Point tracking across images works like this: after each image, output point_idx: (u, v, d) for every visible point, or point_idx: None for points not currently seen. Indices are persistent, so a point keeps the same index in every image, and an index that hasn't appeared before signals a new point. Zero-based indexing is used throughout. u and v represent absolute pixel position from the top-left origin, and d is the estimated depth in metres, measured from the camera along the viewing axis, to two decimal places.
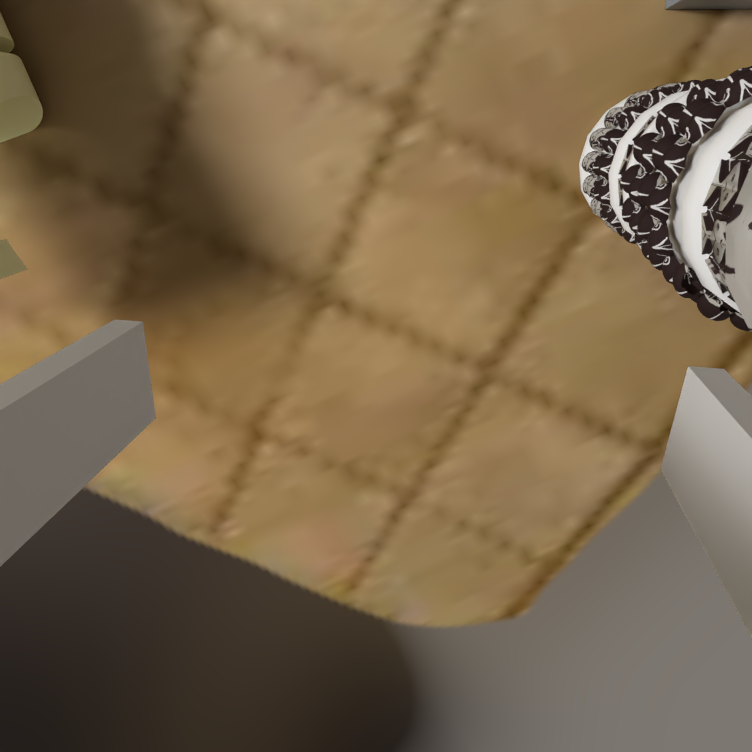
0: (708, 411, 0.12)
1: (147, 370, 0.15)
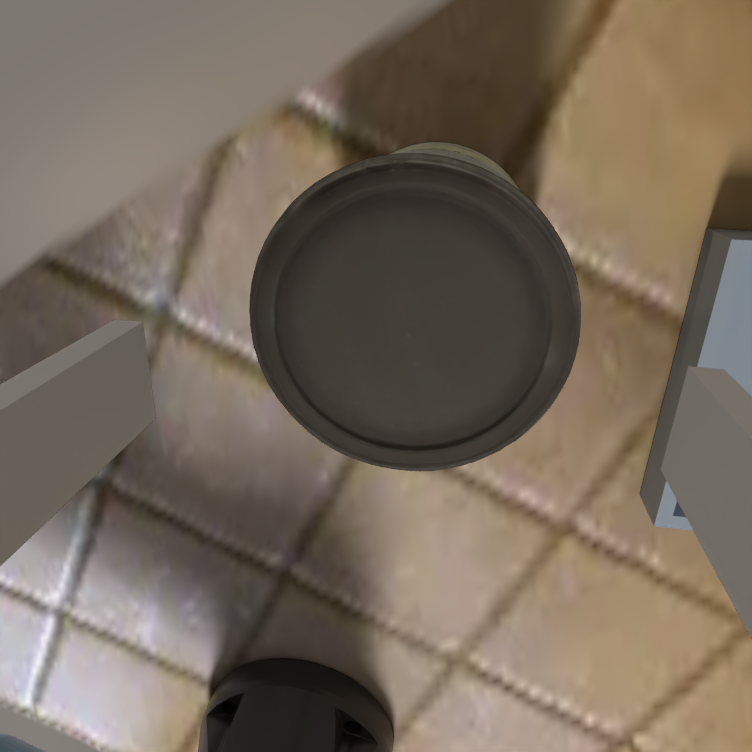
0: (708, 411, 0.12)
1: (147, 370, 0.15)
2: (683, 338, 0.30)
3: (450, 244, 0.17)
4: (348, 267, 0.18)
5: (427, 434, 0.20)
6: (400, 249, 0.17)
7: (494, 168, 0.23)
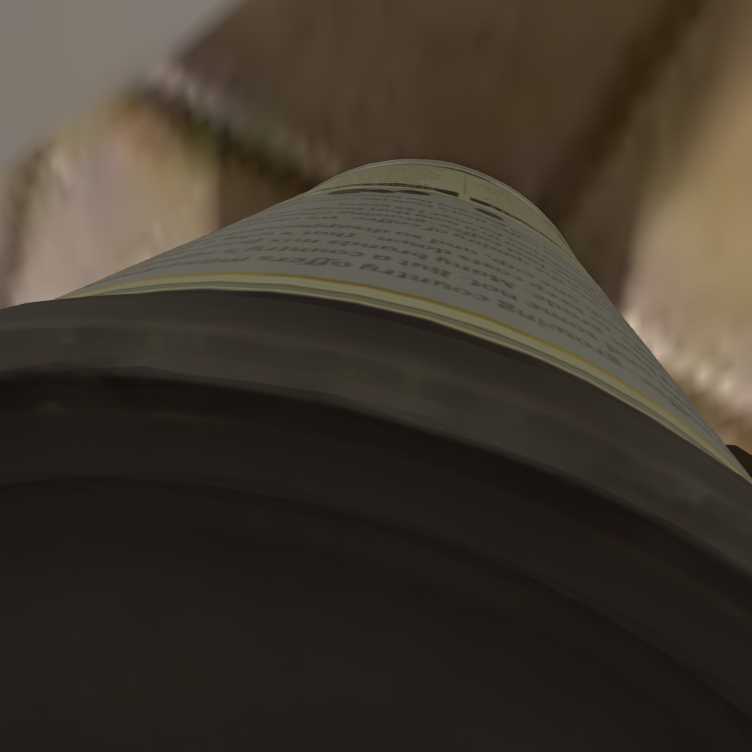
0: None
1: None
2: None
3: (402, 728, 0.04)
4: None
5: None
6: (171, 718, 0.04)
7: (541, 235, 0.09)
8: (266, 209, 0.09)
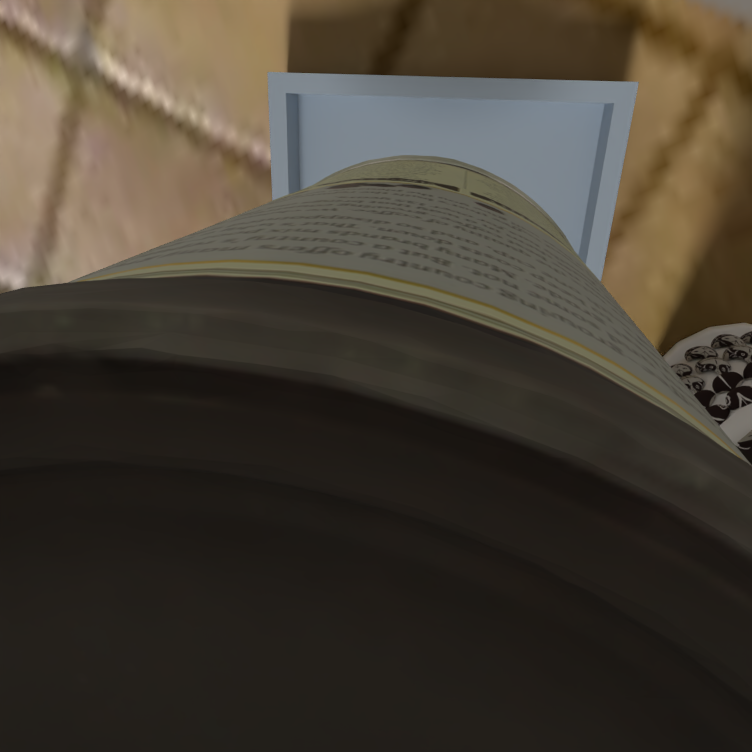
0: None
1: None
2: None
3: (404, 718, 0.03)
4: None
5: None
6: (171, 708, 0.04)
7: (542, 229, 0.09)
8: None
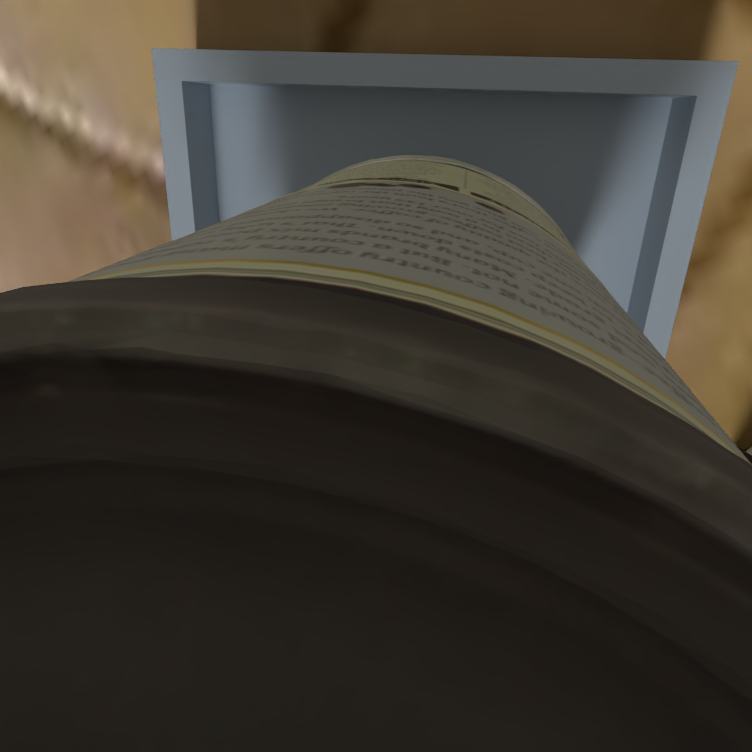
0: None
1: None
2: None
3: (404, 718, 0.03)
4: None
5: None
6: (170, 708, 0.04)
7: (542, 229, 0.09)
8: (266, 203, 0.09)
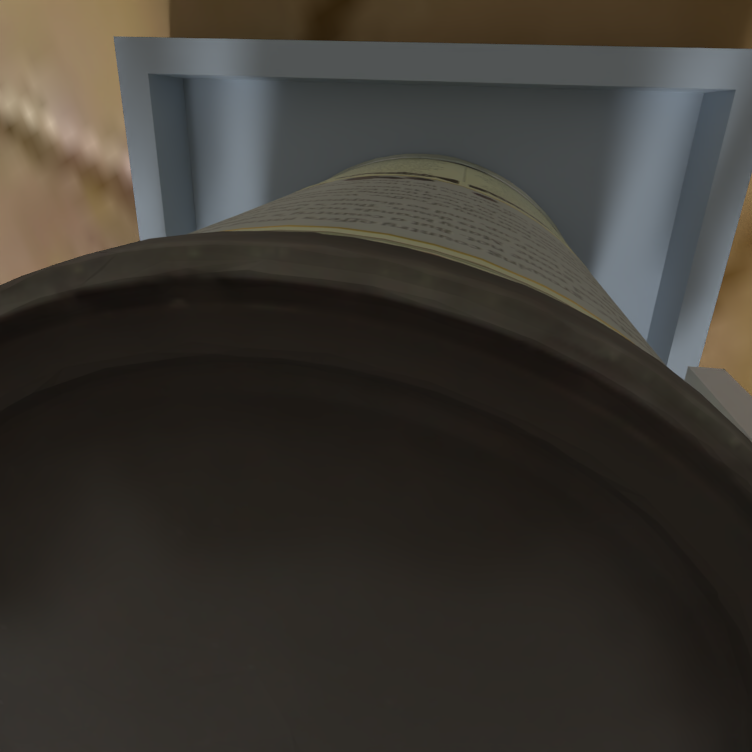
0: None
1: None
2: None
3: (416, 552, 0.05)
4: (85, 586, 0.06)
5: None
6: (245, 553, 0.05)
7: (531, 217, 0.11)
8: (290, 194, 0.11)
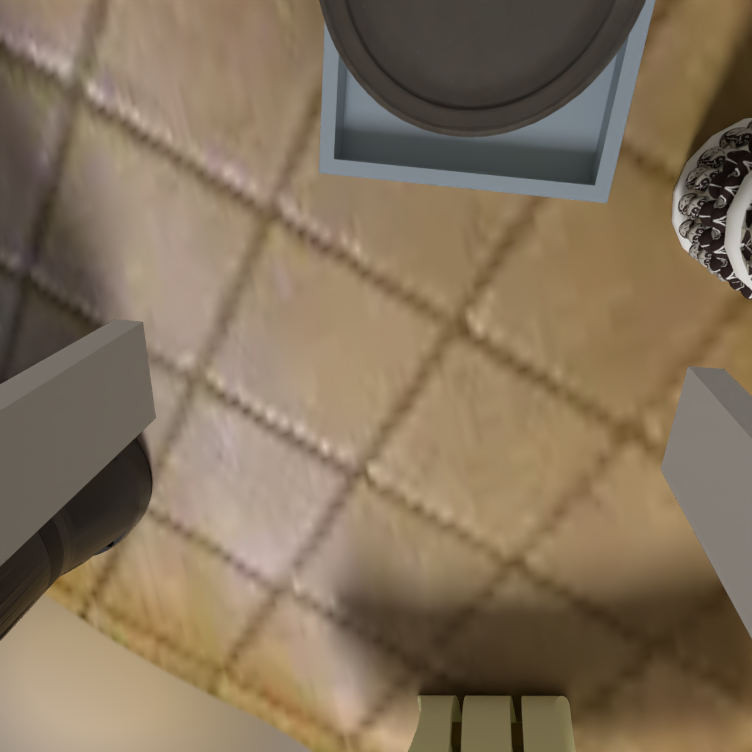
0: (708, 411, 0.12)
1: (147, 370, 0.15)
2: None
3: None
4: None
5: (488, 90, 0.19)
6: None
7: None
8: None
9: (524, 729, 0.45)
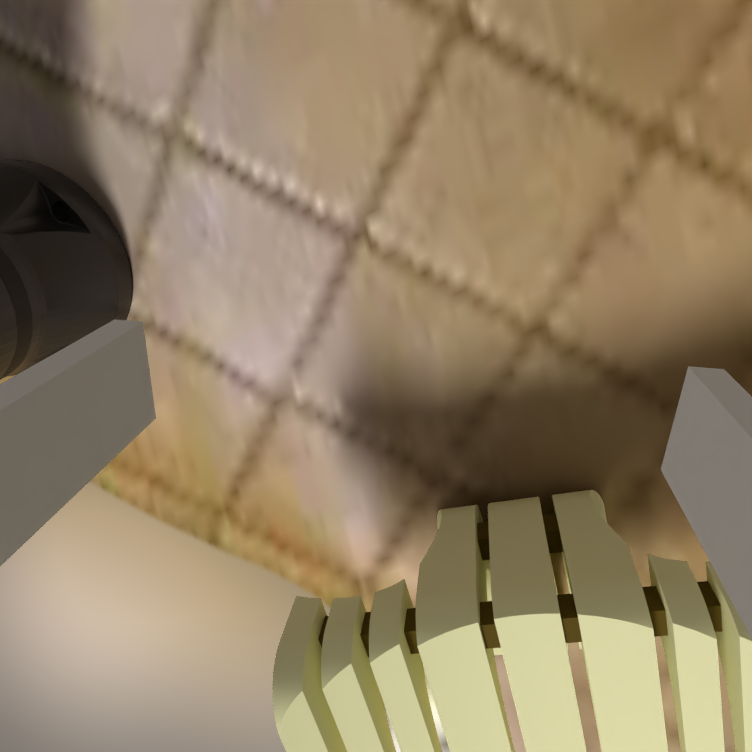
0: (708, 411, 0.12)
1: (147, 370, 0.15)
2: None
3: None
4: None
5: None
6: None
7: None
8: None
9: (558, 514, 0.41)
